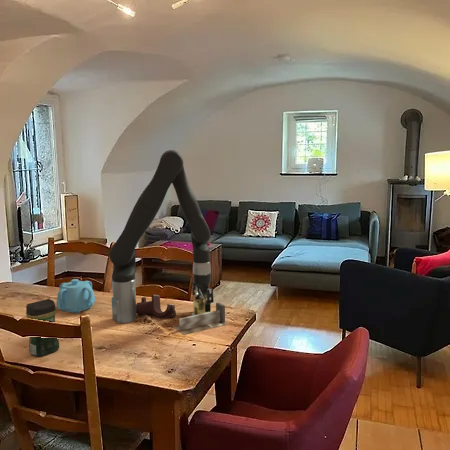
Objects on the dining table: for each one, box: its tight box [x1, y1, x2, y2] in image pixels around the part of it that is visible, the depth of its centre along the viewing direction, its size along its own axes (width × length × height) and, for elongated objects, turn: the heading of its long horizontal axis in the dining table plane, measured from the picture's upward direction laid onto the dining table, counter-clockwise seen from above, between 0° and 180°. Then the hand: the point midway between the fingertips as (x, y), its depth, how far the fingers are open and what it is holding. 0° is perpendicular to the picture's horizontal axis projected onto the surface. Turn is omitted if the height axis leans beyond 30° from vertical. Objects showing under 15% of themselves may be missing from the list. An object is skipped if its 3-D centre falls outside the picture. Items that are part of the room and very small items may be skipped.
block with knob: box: [192, 297, 212, 315], centre depth 196 cm, size 6×4×7 cm
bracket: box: [136, 294, 177, 319], centre depth 196 cm, size 6×17×10 cm, turn 75°
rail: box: [172, 301, 229, 336], centre depth 183 cm, size 20×10×8 cm, turn 122°
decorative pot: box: [55, 278, 96, 314], centre depth 205 cm, size 16×16×14 cm
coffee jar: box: [25, 298, 60, 357], centre depth 162 cm, size 10×8×19 cm
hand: (202, 308), depth 196 cm, fingers open, 8 cm apart
